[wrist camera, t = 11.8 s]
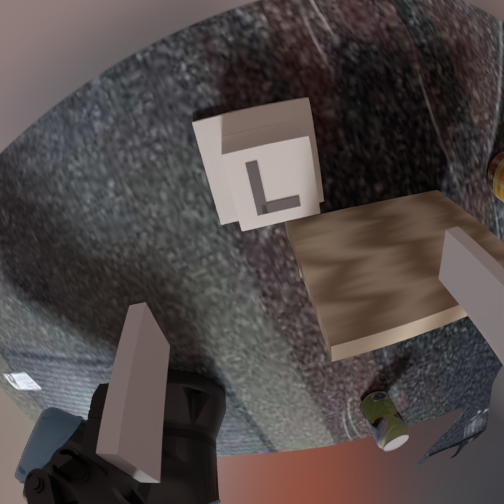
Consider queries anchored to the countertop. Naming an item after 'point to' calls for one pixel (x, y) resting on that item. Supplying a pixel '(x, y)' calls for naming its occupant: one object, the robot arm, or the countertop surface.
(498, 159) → the sauce bottle
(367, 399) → the beverage can
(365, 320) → the screen
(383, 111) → the countertop surface
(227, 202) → the tile
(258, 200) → the letter cube
